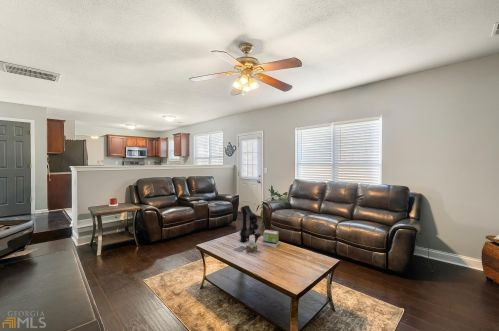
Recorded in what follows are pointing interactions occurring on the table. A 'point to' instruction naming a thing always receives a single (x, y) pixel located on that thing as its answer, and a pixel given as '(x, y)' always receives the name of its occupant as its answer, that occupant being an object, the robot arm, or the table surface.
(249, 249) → the walnut box
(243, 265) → the table surface
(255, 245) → the lid
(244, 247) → the slate mat
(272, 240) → the tea box
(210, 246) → the table surface
